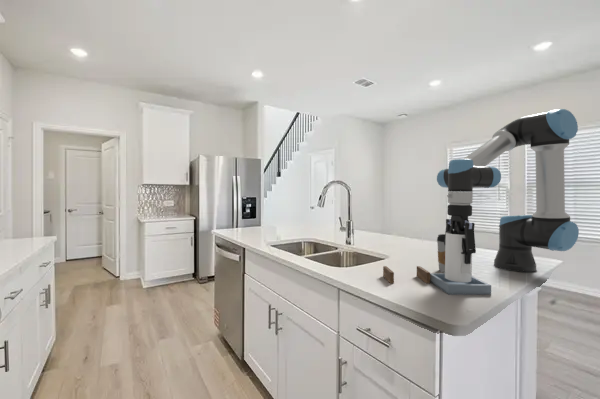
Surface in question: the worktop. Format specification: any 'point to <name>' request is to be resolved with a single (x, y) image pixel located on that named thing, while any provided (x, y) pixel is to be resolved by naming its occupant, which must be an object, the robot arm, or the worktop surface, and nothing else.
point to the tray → (460, 285)
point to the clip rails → (421, 274)
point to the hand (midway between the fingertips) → (458, 269)
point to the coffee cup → (441, 252)
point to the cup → (455, 259)
